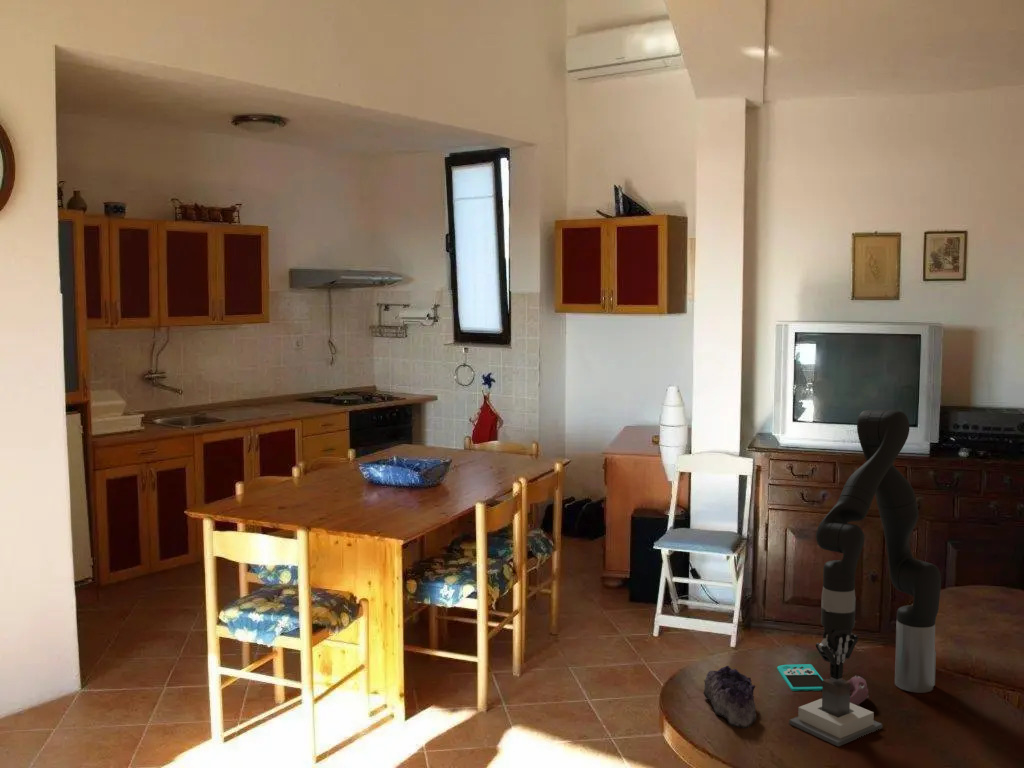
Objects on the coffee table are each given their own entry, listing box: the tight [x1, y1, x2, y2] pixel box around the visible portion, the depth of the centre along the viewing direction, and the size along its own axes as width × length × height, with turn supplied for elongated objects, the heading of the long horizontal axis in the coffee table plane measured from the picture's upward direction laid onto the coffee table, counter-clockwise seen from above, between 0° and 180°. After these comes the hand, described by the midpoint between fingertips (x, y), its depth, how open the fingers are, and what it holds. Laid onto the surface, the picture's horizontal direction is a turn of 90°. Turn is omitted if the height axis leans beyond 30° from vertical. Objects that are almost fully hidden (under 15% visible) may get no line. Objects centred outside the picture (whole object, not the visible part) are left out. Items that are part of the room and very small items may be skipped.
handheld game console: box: [776, 663, 824, 692], centre depth 259 cm, size 10×16×1 cm, turn 0°
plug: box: [821, 676, 851, 718], centre depth 230 cm, size 4×4×10 cm
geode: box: [703, 665, 757, 730], centre depth 240 cm, size 20×12×10 cm, turn 6°
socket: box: [788, 698, 883, 747], centre depth 231 cm, size 16×14×4 cm
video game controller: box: [848, 675, 870, 706], centre depth 244 cm, size 10×5×7 cm, turn 170°
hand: (836, 677), depth 230 cm, fingers closed
